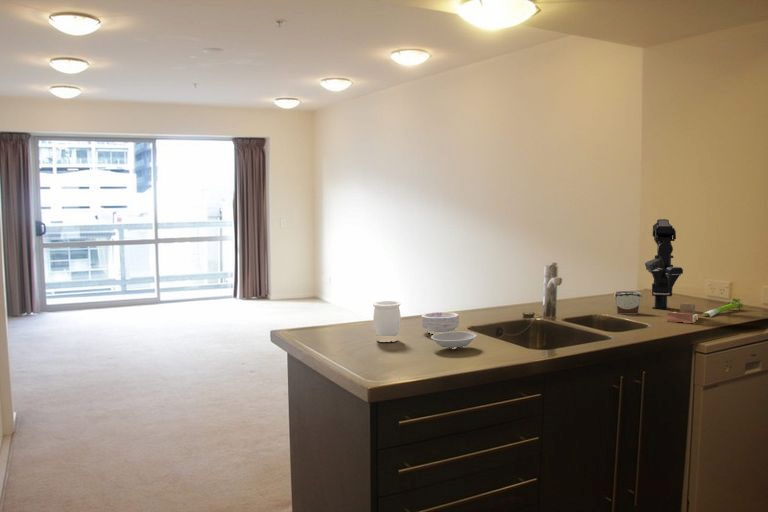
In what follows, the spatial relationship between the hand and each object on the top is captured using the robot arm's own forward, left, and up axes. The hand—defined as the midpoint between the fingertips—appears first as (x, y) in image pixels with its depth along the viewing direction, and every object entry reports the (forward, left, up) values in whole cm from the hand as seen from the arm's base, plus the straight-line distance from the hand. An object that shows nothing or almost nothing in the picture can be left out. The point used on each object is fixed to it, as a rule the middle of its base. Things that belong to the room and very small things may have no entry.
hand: (663, 287), depth 276 cm
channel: (+6, +10, -13) cm, 17 cm away
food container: (0, -16, -13) cm, 21 cm away
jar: (+109, -73, -13) cm, 132 cm away
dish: (+106, -44, -13) cm, 116 cm away
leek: (-23, +21, -14) cm, 34 cm away
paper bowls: (+86, -64, -13) cm, 108 cm away
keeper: (-2, +10, -13) cm, 17 cm away
